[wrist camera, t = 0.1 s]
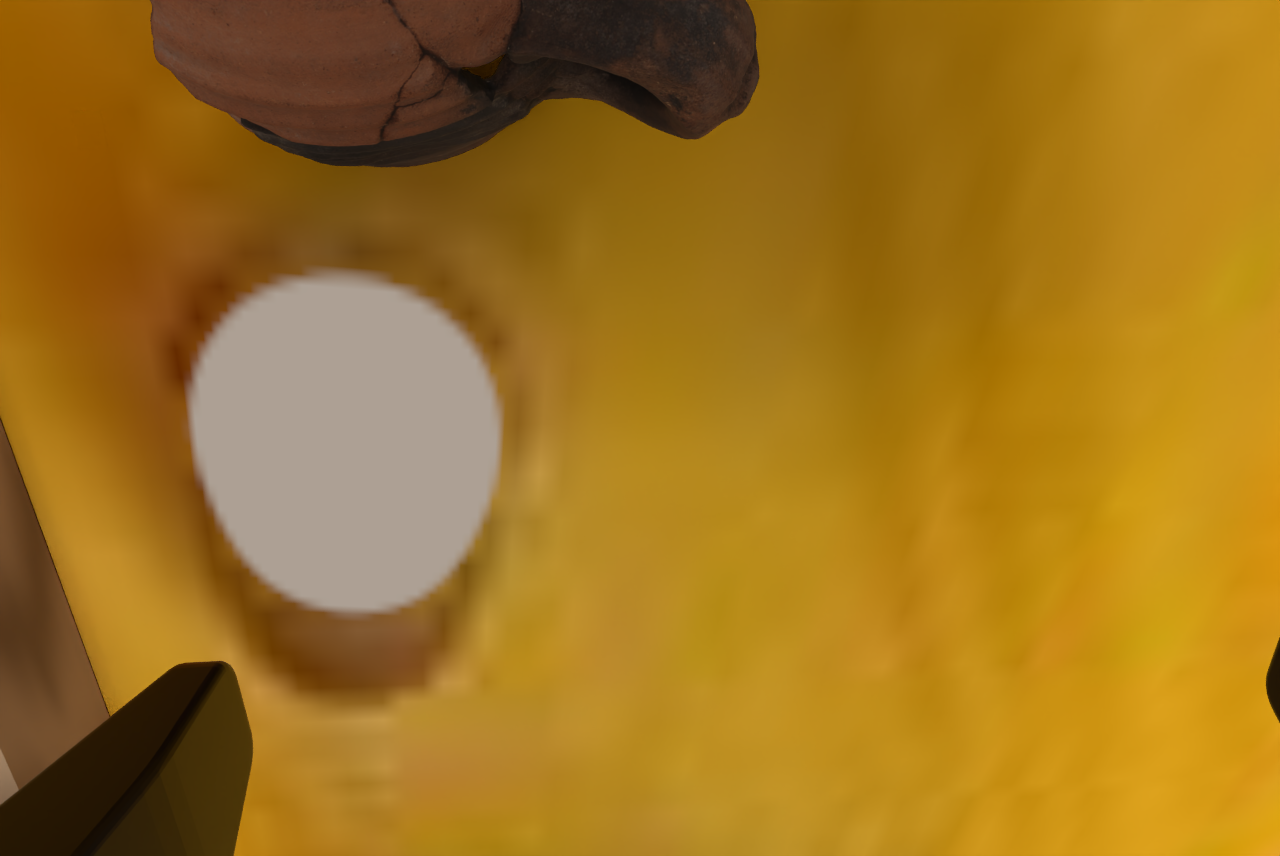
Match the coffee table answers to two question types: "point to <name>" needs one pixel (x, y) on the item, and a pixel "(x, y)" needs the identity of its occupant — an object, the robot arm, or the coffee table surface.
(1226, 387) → the coffee table surface
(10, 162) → the coffee table surface
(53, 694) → the deck
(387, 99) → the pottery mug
